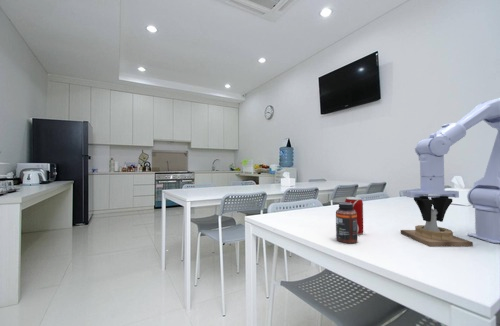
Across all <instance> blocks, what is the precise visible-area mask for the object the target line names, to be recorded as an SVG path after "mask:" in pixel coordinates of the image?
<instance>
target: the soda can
mask: <svg viewBox="0 0 500 326" xmlns="http://www.w3.org/2000/svg"><path fill="white" fill-rule="evenodd" d="M344 202H347V203H352V204H353V210H354V211H356V213H357V236H360V235H362V234H364V202H363V199H362V197H353V196H351V197H350V196H349V197H345V201H344Z"/></svg>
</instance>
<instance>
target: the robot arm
mask: <svg viewBox="0 0 500 326" xmlns="http://www.w3.org/2000/svg"><path fill="white" fill-rule="evenodd" d="M482 121H484V122H485V123H486V124H487V125H488V126H490V127H491V128H493V129H496V130H497V134H496V137H495V139H494V142H493V146H492V149H491V153H490V155H489V159H488V162H487V165H486V168H485V172H484V175H483V177H481V178H480V179H478V180H476V181H475V182H473V186H472V187H471V189H469V190H468V191H467V195H466V198H467V201H468V203H469V204H470V205H472V208H473V209H474V218H475V219H474V222H475V223H474V224H475V225H474V227H475V233H467V236H470V237H472V238H476V239H479V240H482V241H485V242H489V243H492V244H500V97H498V98H495V99H491V100H485V101H482V102H480V103H479V104H478V105H475V106H474V108H473V109H472V110H470V111H469V112H468V113H466V114H465V115H464V116H463V117H461V118H460V119H459V120H458V121H457V122H449V123H444V124H442V125H441V126H440V127H441V128H440V129H438V130H437V131H436V132H433V133H429V136H428V138H424V139H421V140H420V141H419V142H417V145H416V146H415V147H414V152H415V153H416V155H417V156H418V161H419V173H420V175H419V176H420V177H419V178H420V179H419V180H420V184H419V186H420V189H418V190H406V197H407V198H413V201H414V202H415V204H416V205H417V207H418V209H419V211H420V214H421V217H422V220H423V221H425V222H426V221H427V222H430V221H431V209H437V212H438V214H437V215H436V217H437V218H436V221H438V222H440V223H443V222H444V218H445V214H446V212H447V211H448V209H449V206H450V205H452V203H453V198H460V195H459V194H460V192H459V190H445V189H446V188H445V157H444V155H447V154H448V153H449V151H450V147H452V146H453V145H454V144H456V143H458V142H459V141H461V140H462V139H463V138H465V137H466V135H467V131H468V130H469V129H471V128H472V127H474V126H476V125H477V124H479V123H481V122H482Z"/></svg>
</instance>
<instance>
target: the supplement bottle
mask: <svg viewBox="0 0 500 326" xmlns="http://www.w3.org/2000/svg"><path fill="white" fill-rule="evenodd" d="M335 233H336V234H335V236H336V240H337V241H338V242H341V243H343V244H344V243H345V244H354V243H357V242H358V235H357V213H356V211H354V210H353V204H352V203H347V202H345V201H344V202H339V203H338V209H336V211H335Z"/></svg>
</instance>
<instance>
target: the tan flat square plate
mask: <svg viewBox="0 0 500 326" xmlns="http://www.w3.org/2000/svg"><path fill="white" fill-rule="evenodd" d="M424 226H425V224H423V225H415V228H414V229H400V235H403V236H405V237H408V238H410V239H411V240H414V241H416V242H419V243H421V244H422V245H423V244H424V245H426V246H428V247H473V241H471V240H468V239H464V238H461V237H459V236H456V235H454V234H453V233H454V232H453V231H452V230H451V229H449V228H445V227H443V226H442V227H440V226H438V229H439V230H440V232H438V231H430V230H426V229H423V227H424Z"/></svg>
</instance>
